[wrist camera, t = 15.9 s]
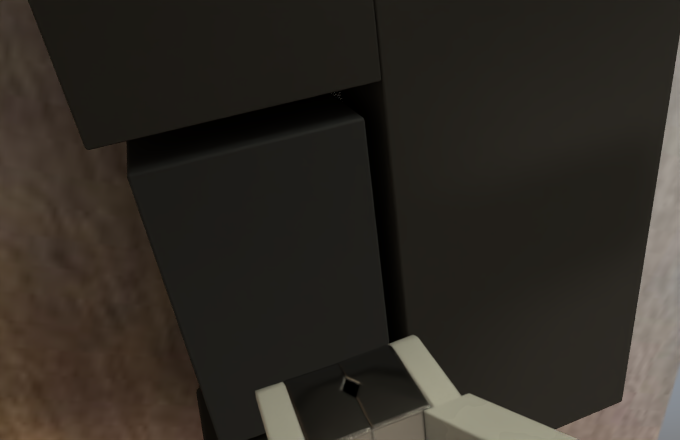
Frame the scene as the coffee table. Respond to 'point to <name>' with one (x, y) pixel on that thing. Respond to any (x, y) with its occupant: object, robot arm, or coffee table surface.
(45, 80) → the coffee table surface
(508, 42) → the big pad
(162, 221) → the small pad
